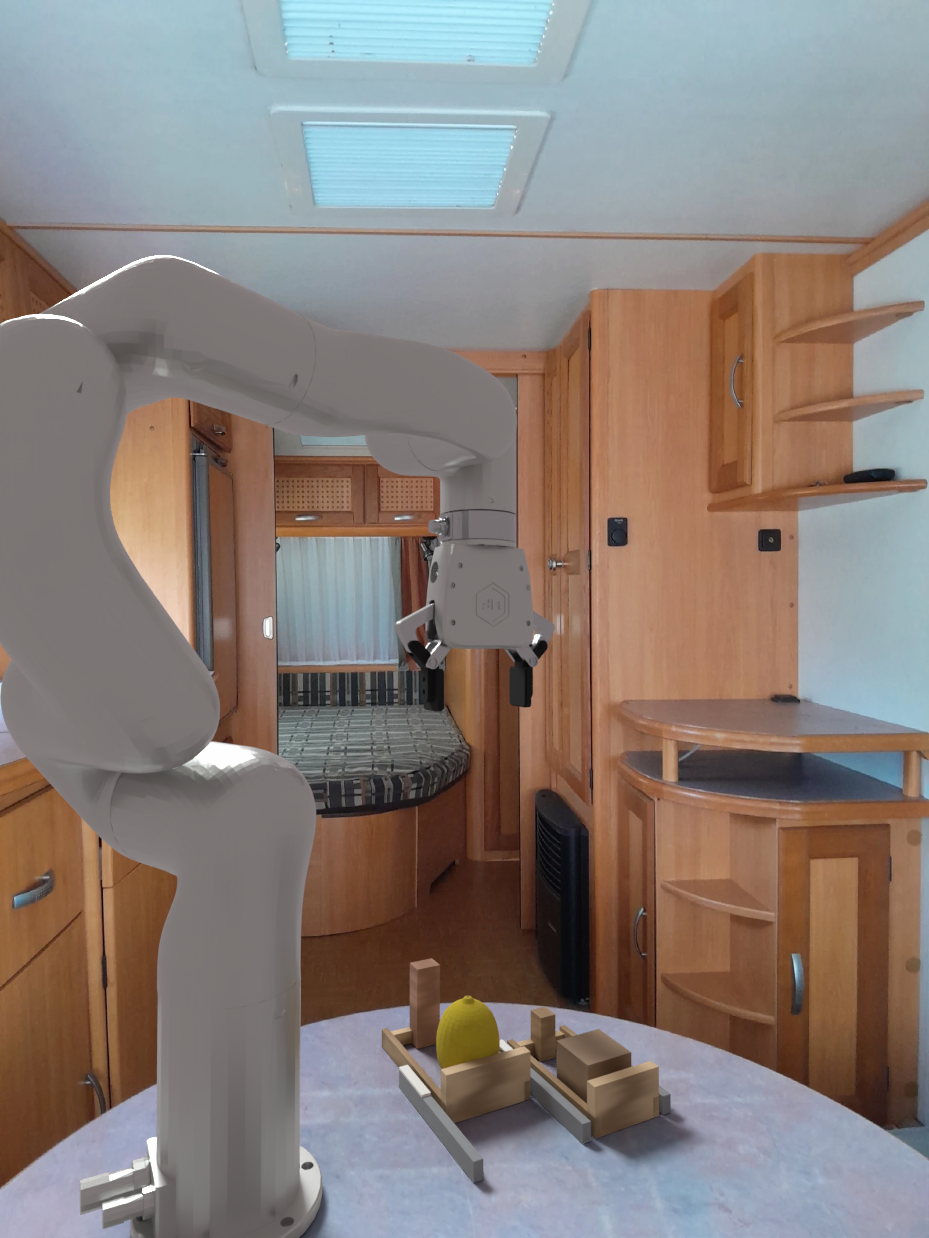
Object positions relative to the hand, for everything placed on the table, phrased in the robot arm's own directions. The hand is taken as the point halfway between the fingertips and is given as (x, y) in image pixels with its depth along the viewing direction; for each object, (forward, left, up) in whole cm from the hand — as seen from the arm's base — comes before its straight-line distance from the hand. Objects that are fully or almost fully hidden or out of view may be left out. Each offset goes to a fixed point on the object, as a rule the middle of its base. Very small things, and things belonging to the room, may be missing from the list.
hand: (478, 708), depth 78 cm
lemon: (-5, -7, -32) cm, 34 cm away
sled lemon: (-5, -4, -32) cm, 33 cm away
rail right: (+8, -12, -32) cm, 35 cm away
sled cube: (+4, -11, -32) cm, 34 cm away
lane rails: (-5, -11, -32) cm, 34 cm away
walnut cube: (+4, -13, -32) cm, 35 cm away
